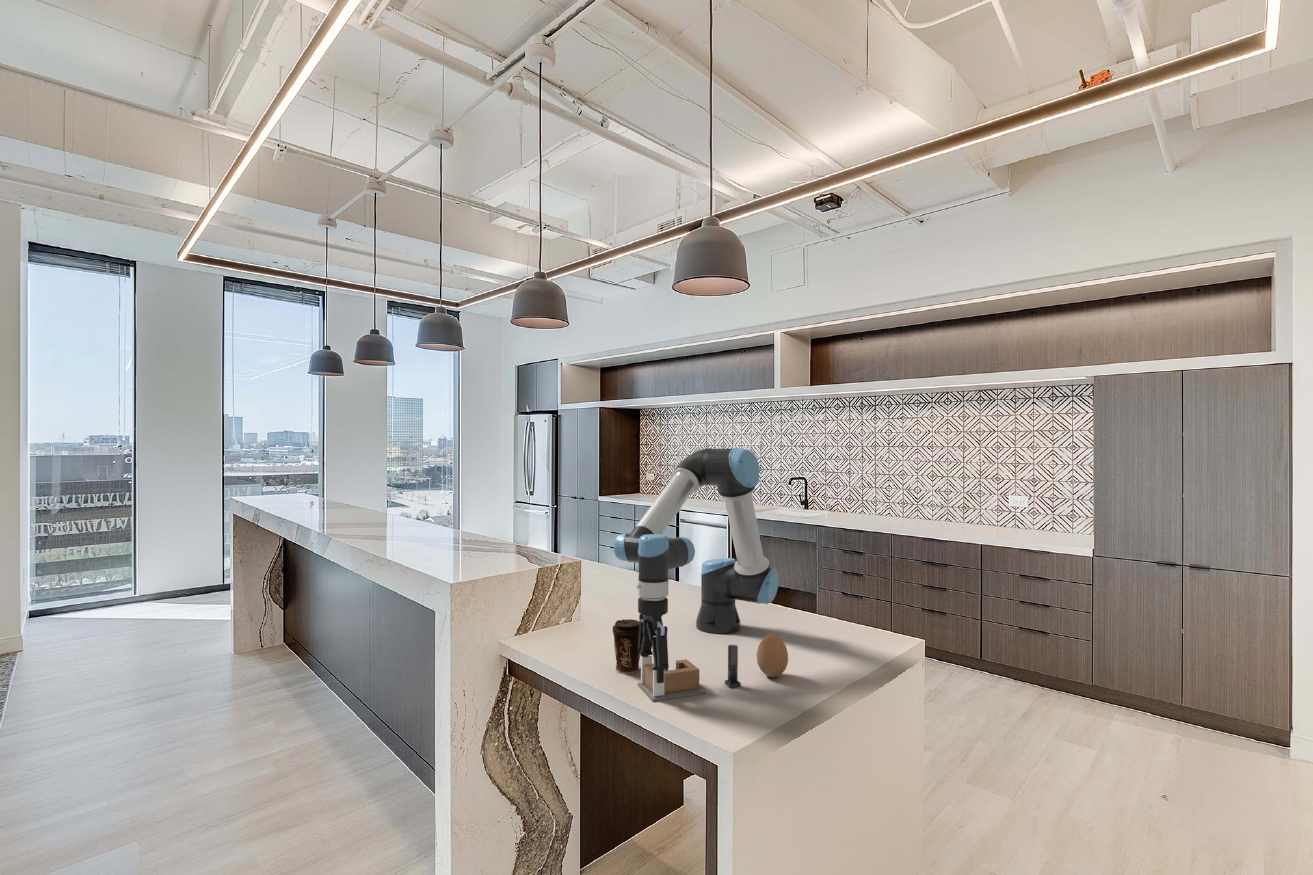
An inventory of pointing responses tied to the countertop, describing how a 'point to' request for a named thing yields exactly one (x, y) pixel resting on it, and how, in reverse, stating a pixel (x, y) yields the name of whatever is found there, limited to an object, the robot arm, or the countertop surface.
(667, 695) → the mat
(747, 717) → the countertop surface
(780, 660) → the egg
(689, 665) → the c link
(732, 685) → the post stand
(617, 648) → the coffee cup
